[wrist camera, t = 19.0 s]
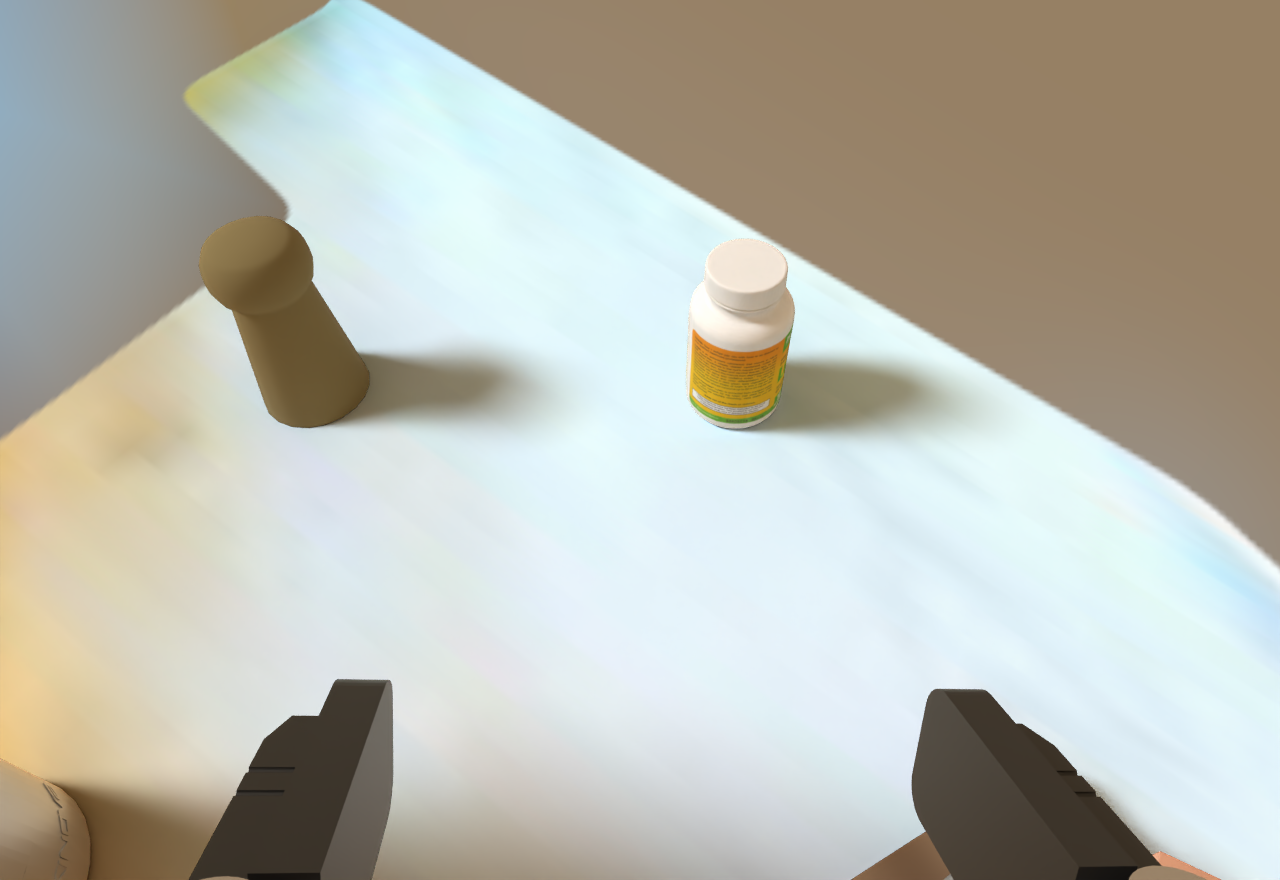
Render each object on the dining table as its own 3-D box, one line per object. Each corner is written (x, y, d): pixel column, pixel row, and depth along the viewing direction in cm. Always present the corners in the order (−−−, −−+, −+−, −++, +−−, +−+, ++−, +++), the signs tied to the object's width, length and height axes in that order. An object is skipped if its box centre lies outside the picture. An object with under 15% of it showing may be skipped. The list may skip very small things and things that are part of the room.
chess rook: (386, 358, 50) (329, 207, 41) (341, 436, 47) (268, 288, 38) (295, 342, 51) (221, 190, 42) (244, 417, 48) (151, 268, 39)
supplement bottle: (790, 425, 47) (816, 296, 39) (695, 437, 46) (702, 309, 39) (767, 355, 50) (787, 223, 42) (678, 366, 50) (682, 234, 42)
